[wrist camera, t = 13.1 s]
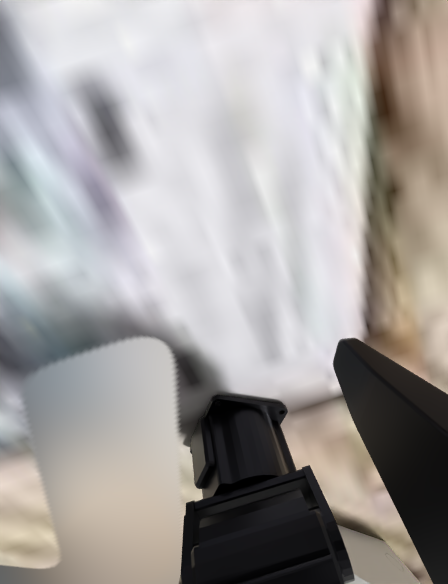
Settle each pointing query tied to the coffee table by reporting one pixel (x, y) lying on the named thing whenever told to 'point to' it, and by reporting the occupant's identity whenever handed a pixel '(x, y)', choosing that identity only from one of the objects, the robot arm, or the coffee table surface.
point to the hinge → (374, 560)
